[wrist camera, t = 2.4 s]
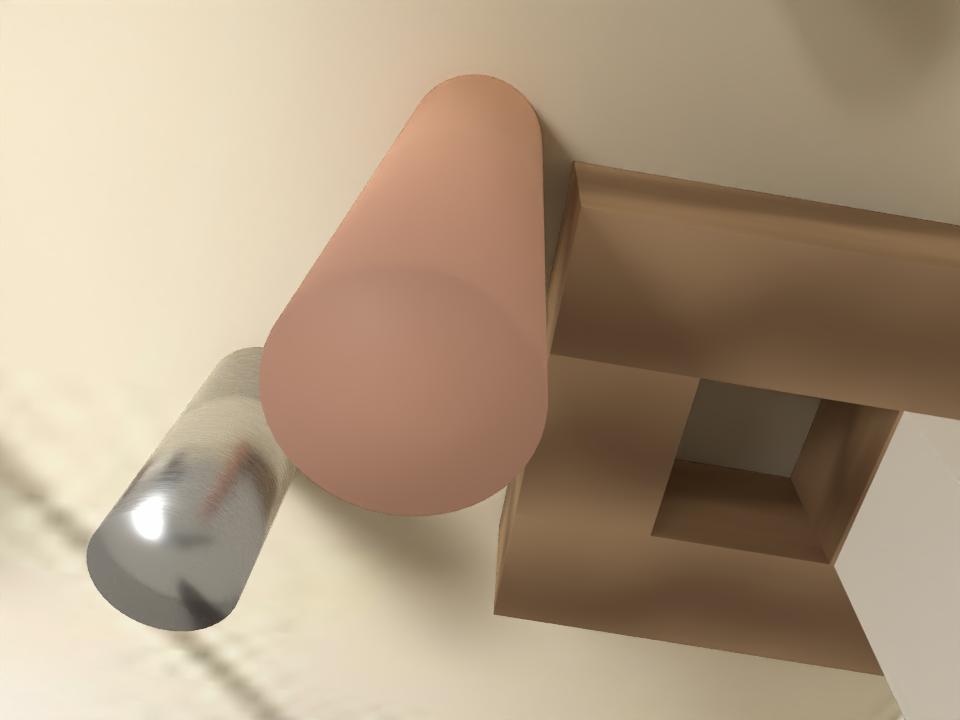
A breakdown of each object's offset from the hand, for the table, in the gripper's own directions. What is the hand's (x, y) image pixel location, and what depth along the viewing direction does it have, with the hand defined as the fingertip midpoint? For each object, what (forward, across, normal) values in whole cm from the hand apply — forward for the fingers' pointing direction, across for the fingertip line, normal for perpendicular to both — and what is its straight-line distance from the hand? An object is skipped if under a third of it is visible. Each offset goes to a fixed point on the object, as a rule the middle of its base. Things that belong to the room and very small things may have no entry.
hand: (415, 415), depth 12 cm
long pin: (+15, 0, 0) cm, 15 cm away
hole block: (+15, +10, -7) cm, 19 cm away
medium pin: (+15, -6, -10) cm, 19 cm away
